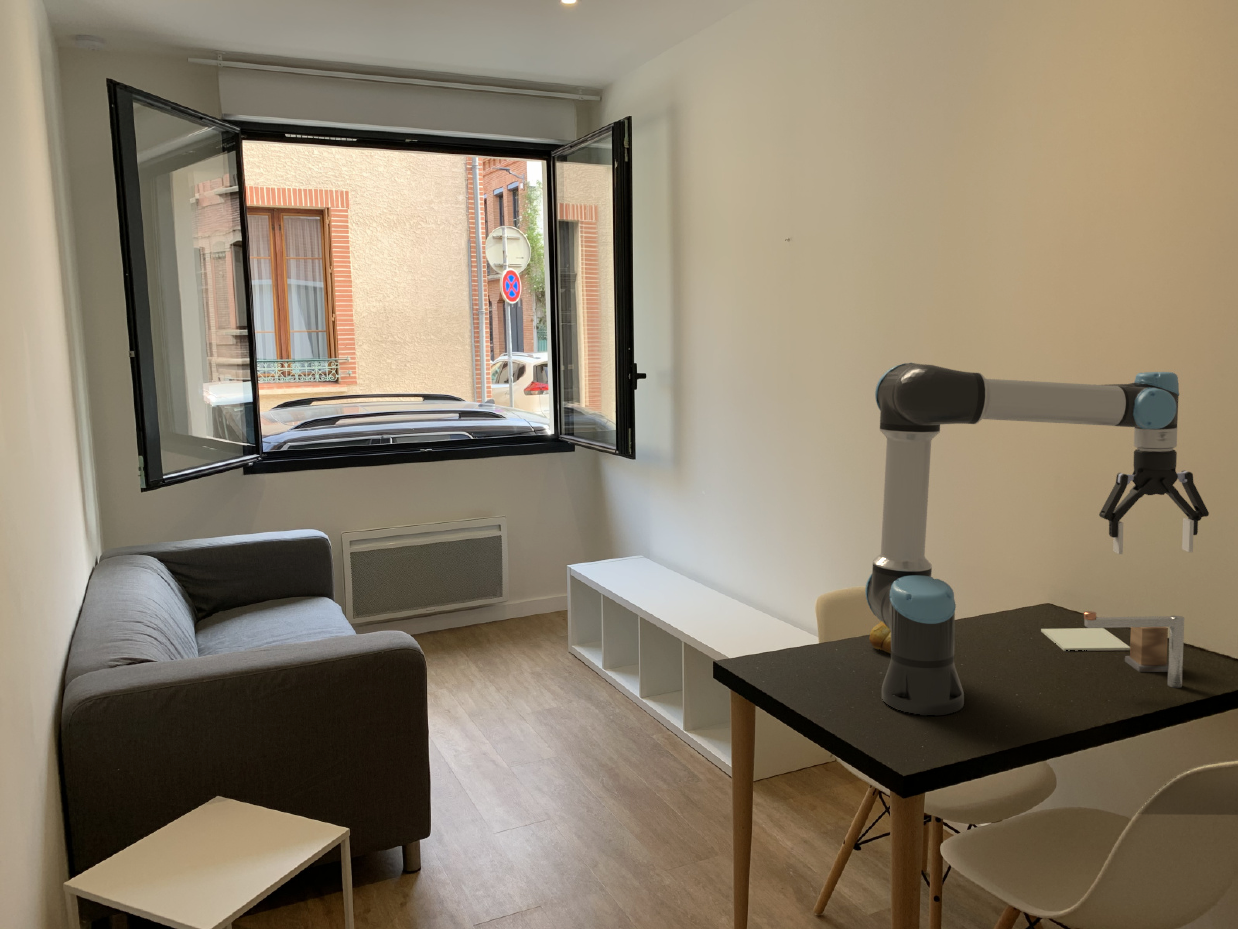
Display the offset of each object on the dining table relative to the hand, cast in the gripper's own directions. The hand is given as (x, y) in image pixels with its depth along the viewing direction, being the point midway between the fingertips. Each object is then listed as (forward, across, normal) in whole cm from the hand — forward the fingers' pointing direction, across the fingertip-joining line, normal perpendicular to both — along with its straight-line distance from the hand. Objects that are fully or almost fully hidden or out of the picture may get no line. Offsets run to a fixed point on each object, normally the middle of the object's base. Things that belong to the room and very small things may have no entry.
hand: (1152, 552), depth 190 cm
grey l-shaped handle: (+24, -8, -11) cm, 28 cm away
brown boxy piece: (+24, 0, 0) cm, 24 cm away
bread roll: (+24, -49, +11) cm, 56 cm away
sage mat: (+24, -6, +17) cm, 30 cm away
